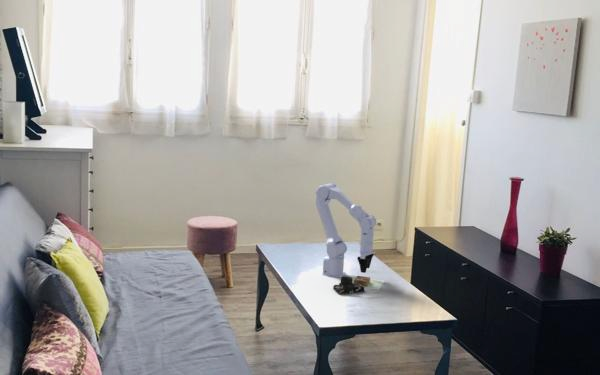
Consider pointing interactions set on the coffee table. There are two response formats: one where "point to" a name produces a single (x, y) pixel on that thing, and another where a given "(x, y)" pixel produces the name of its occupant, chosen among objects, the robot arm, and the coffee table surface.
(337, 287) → the film camera
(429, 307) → the coffee table surface
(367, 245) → the robot arm
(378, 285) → the mat
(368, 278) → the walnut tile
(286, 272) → the coffee table surface
